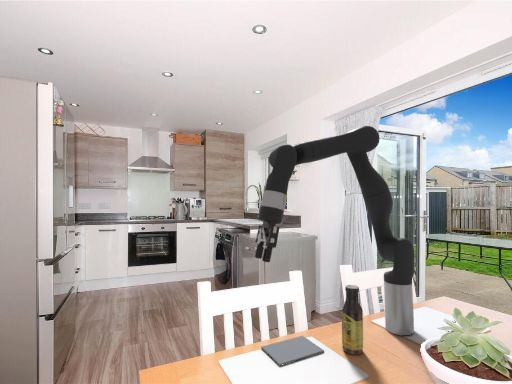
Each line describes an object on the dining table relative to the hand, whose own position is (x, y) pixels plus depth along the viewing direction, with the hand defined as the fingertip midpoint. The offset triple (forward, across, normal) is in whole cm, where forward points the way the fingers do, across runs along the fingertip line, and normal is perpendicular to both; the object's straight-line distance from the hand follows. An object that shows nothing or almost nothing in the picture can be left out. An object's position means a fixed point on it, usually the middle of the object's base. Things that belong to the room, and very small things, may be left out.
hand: (261, 259), depth 83 cm
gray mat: (+26, +4, -17) cm, 31 cm away
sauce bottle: (+22, -1, -34) cm, 41 cm away
